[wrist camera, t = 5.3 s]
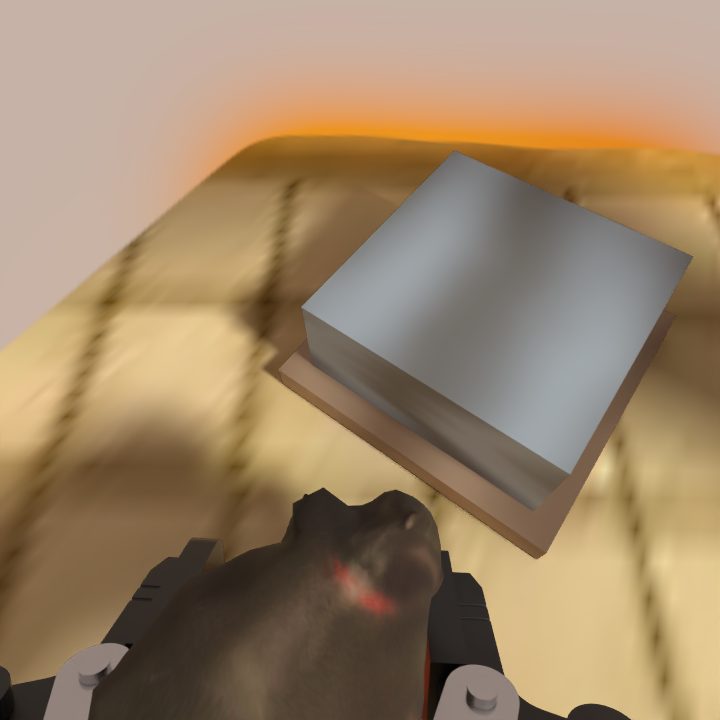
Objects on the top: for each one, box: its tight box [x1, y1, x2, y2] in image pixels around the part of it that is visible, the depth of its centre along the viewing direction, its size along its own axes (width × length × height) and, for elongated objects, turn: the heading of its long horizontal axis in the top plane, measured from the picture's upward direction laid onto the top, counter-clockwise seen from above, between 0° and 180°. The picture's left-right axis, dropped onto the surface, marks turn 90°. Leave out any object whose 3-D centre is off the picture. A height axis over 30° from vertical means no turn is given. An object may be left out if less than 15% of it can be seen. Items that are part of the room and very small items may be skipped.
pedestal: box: [278, 151, 693, 559], centre depth 21 cm, size 12×12×5 cm
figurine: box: [88, 488, 444, 720], centre depth 12 cm, size 6×6×12 cm
